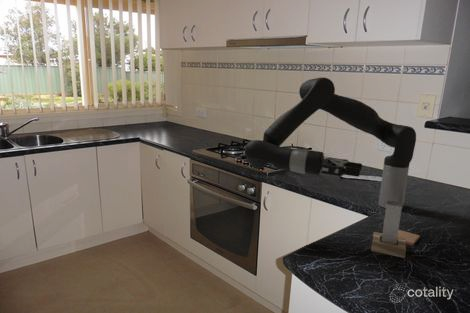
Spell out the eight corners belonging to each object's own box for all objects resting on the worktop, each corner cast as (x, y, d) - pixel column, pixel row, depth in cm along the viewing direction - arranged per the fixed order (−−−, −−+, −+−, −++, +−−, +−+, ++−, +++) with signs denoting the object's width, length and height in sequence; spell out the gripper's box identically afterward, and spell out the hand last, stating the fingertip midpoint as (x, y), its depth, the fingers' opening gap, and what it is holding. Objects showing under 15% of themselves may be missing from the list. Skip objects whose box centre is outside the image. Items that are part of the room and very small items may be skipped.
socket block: (372, 239, 112) (373, 231, 111) (404, 245, 108) (405, 238, 108) (370, 250, 104) (371, 242, 103) (404, 258, 100) (406, 249, 100)
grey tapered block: (381, 244, 109) (386, 200, 106) (395, 247, 107) (401, 202, 104) (380, 249, 105) (386, 204, 102) (395, 252, 103) (401, 206, 101)
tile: (393, 230, 120) (393, 228, 119) (419, 237, 114) (419, 235, 114) (385, 237, 113) (386, 235, 113) (412, 245, 108) (413, 243, 108)
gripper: (302, 153, 104) (361, 161, 98) (312, 147, 117) (364, 154, 111) (300, 178, 105) (357, 187, 99) (309, 169, 118) (360, 177, 112)
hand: (360, 170), depth 105 cm, fingers open, 8 cm apart
